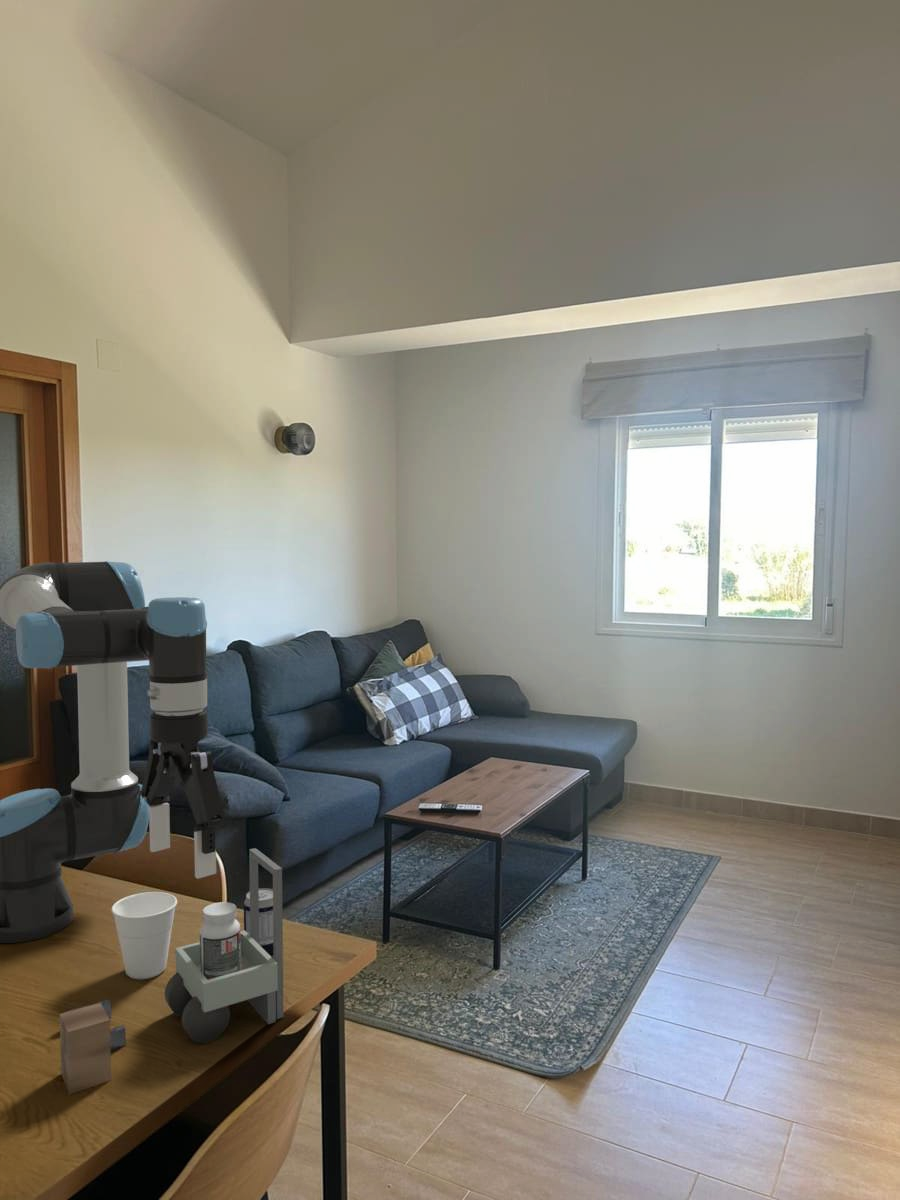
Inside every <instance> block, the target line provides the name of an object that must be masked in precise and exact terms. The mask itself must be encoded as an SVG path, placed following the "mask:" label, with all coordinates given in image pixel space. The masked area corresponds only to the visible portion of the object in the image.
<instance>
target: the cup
mask: <svg viewBox="0 0 900 1200" xmlns="http://www.w3.org/2000/svg"><path fill="white" fill-rule="evenodd" d="M177 904H178V898H177V897H176V896H174V895H173V894H171V893H167V892H161V891H148V892H141V893H134V894H131V895H128V896H125V897H123V898H121V899H119V900H117V901H116V902H115V903H114V904H113V905H112V907H111V913H112V914H113V917H114V922H115V926H116V927H115V928H116V932H117V936H118V937H117V938H118V941H119V947H120V950H121V951H120V952H121V957H122V961H123V965H124V971H125V974H126V975H127V976H128V977H129V978H131V979H133V980H147V979H151V978H155V977H157V976H159V975H161V974H162V973H163V972H164V971H165V969H166V968H167V964H168V956H169V949H170V943H171V936H172V929H173V923H174V919H175V917H174V916H175V911H176V906H177Z"/></svg>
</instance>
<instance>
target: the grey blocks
mask: <svg viewBox="0 0 900 1200" xmlns="http://www.w3.org/2000/svg"><path fill="white" fill-rule="evenodd" d="M98 1003H101V1004H102V1006H103V1008H104V1010H105V1012H106V1014H107V1016H108V1018H109V1019H112V1002H111V999H109V998H108V999H104V1000H102V1001H101V1000H100V1001H97V1002H93V1003H90V1004H87V1005H83V1006H79V1007H76V1008H73V1009H69V1010H65V1011H64V1013H66V1012H69V1011H73V1010H76V1009H80V1008H83V1007H87V1006H91V1005H94V1004H98ZM126 1035H127V1034H126V1027H125V1025H119V1026H115V1027H113V1028H110V1051H112V1050H115V1049H116V1050H117V1049H119V1048H122V1047H126V1045H127V1044H126V1042H127V1041H126Z"/></svg>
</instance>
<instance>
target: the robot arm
mask: <svg viewBox="0 0 900 1200" xmlns="http://www.w3.org/2000/svg"><path fill="white" fill-rule="evenodd" d="M143 588H144V587H143V585H142V582H141V579H140V577H139V574H138V572H137V571H136V569H135V567H134V566H132V565H131V564H129V563H127V562H120V561H109V560H106V561H84V562H83V561H79V562H75V561H74V562H50V561H48V562H39V563H35V564H31V565H28V566H24V567H23V568H20V569H18V570H16V571H14V572H12V573H10V574H9V575H8V576H7V577H5V578H4V579H3V580H2V581H1V583H0V619H1V620H2V622H4V623H5V625H7V626H8V627H10V628H12V629H14V630H15V647H16V653H17V659H18V662H19V664H20V665H21V666H22V667H23V668H27V669H41V668H42V669H47V670H49V669H54V668H63V667H74V666H76V670H77V671H76V672H77V673H76V677H77V708H78V709H77V712H78V713H77V715H78V718H77V719H78V754H79V755H78V756H79V774H78V775H77V777H76V778H75V779H74V780H73V781H71V783H70V788H71V789H70V791H71V792H70V794H68V795H61V794H60V793H59V791H58V790H57V789H54V788H47V787H46V788H42V789H41V788H35V789H30V790H29V789H28V790H25V791H21V792H18V793H14V794H12V795H8V796H7V797H5V798H2V799H1V800H0V944H14V943H15V944H16V943H24V942H29V941H35V940H39V939H42V938H45V937H48V936H52V935H54V934H55V933H59V932H61V931H62V930H63V929H64V928H65V929H66V928H67V927H68V926H69V925H70V924H71V923H72V922H73V919H74V906H73V905H74V904H73V902H72V900H71V897H70V894H69V892H68V889H67V887H66V885H65V883H64V880H63V876H62V863H63V862H69V861H75V860H79V859H85V858H91V857H96V856H101V855H108V854H118V853H120V852H122V851H126V850H130V849H131V850H132V849H134V848H136V847H138V846H140V844H141V843H142V842H143V840H144V839H145V836H146V834H147V831H148V826H149V851H150V852H151V853H155V852H159V851H163V850H167V849H170V848H171V829H170V828H171V827H170V824H171V822H170V803H168V802H170V801H171V798H170V795H169V794H170V792H171V789H172V788H173V786H174V782H175V781H177V783H178V785H179V786H180V787H182V788H183V790H184V793H185V796H186V798H187V802H188V803H189V806H190V809H191V812H192V814H193V818H194V821H195V823H196V825H194V827H193V829H192V830H193V840H194V842H193V843H194V844H193V845H194V847H193V849H194V851H193V852H194V878H196V879H201V878H205V877H209V876H211V875H216V874H217V845H216V844H217V841H216V840H217V838H216V837H217V835H216V831H217V830H216V829H217V828H218V827H221V826H224V825H225V824H226V817H225V813H224V809H223V805H222V801H221V796H220V791H219V787H218V783H217V779H216V776H215V775H216V774H215V771H214V765H213V754H212V751H203V752H201V751H200V748H199V742H200V741H201V740H204V739H205V738H207V736H208V735H209V734H208V733H209V732H208V731H209V728H208V726H209V724H208V723H209V721H208V720H209V719H208V711H206V709H205V708H206V707H207V706H208V676H207V627H208V621H207V616H206V607H205V603H204V602H203V599H200V598H198V597H177V596H176V597H161V598H160V597H159V598H158V597H157V598H153V599H151V600H150V601H149V603H148V605H147V606H146V600H145V593H144V589H143ZM144 661H148V666H149V668H148V669H149V689H148V690H147V696H148V697H149V699H150V701H149V702H150V703H149V704H150V705H149V707H150V709H151V710H152V711H154V712H152V713H151V714H150V716H149V717H150V721H149V722H150V725H149V726H150V739H149V747H148V748H149V749H148V750H149V751H148V758H147V762H146V766H145V770H144V777H143V780H142V781H143V782H142V784H141V783H139V777H138V776H137V775H136V774H135V773H134V772H132V771H131V769H130V747H129V746H130V745H129V744H130V743H129V742H130V741H129V740H130V739H129V733H130V732H129V698H128V697H129V695H128V694H129V691H128V690H129V688H128V663H131V662H132V663H133V662H144Z"/></svg>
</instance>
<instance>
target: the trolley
mask: <svg viewBox="0 0 900 1200" xmlns="http://www.w3.org/2000/svg"><path fill="white" fill-rule="evenodd" d="M248 851H249V854H248V860H249V861H248V862H249V863H248V864H249V867H248V869H249V892H250V935H249V934H248V933H247V932H246V931H245V930H244V929H243V930H240V941H241V971H237V972H234V973H230V974H227V975H223V976H220V977H216V978H213V979H209V980H207V979H206V977H205V976H204V975H203V974H202V972H201V971H200V941H197V942H195V943H194V942H193V943H191V944H186V945H182V946H178V947H175V973H174V975H172V977H171V978H170V979H169V980H168V981H167V984H166V987H165V988H164V989H165V990H164V999H165V1002H166V1003H167V1005H168V1007H169V1008H170V1010H171V1011H172V1013H174V1014H175V1015H176V1016H179V1017H181V1025H182V1027H183V1029H184V1031H185V1032H186V1034H187V1035H188V1036H189V1038H190V1039H191V1040H192V1041H194V1042H195V1043H198V1044H208V1043H210V1042H213V1041H215V1040H216V1039H219V1037H220V1036H221V1035H223V1033H224V1032H225V1031H226V1029H227V1027H228V1025H229V1023H230V1019H231V1010H230V1007H229V1006H230V1005H234V1004H238V1003H241V1002H245V1001H247V1003H249V1004H250V1005H251V1006H252V1007H253V1009H254V1010H255V1011H256V1012H257V1013H258V1015H259V1016H260V1017H261V1018H262V1019H263V1020H264V1022H265V1023H266V1024H267V1025H270V1024H274V1023H276V1022H277V1020H279V1019H282V1018H284V1014H285V1013H284V947H283V946H284V945H283V944H284V941H283V940H284V939H283V937H284V935H283V930H284V929H283V927H284V925H283V923H284V922H283V868H282V867H281V866H280V865H278V864H277V863H276V862H274V861H273V860H272V859H270V858H269V857H268V856H267V855H265V854H264V853H263V852H261V851H260V850H259V849H257V848H256V847H255V848H250V849H249V850H248ZM259 865H260V866H262V868H264V869H265V870H266V871H268V872H269V873H270V874H271V875H272V889H273V945H274V959H273V958H272V957H271V956H270V955H269V954H268V953H267V952H266V951H265V950H264V949H263V948H262V947H261V946H260V945H259V891H258V889H259Z"/></svg>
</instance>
